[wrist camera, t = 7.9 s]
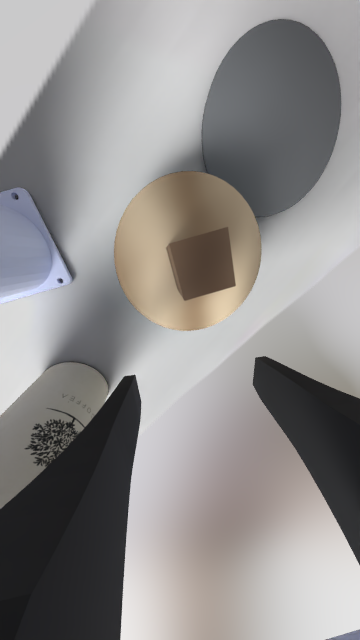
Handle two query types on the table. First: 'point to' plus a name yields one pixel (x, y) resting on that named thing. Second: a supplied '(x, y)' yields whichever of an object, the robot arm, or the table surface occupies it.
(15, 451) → the travel mug
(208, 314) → the lid
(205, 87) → the table surface
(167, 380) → the table surface
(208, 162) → the mat
